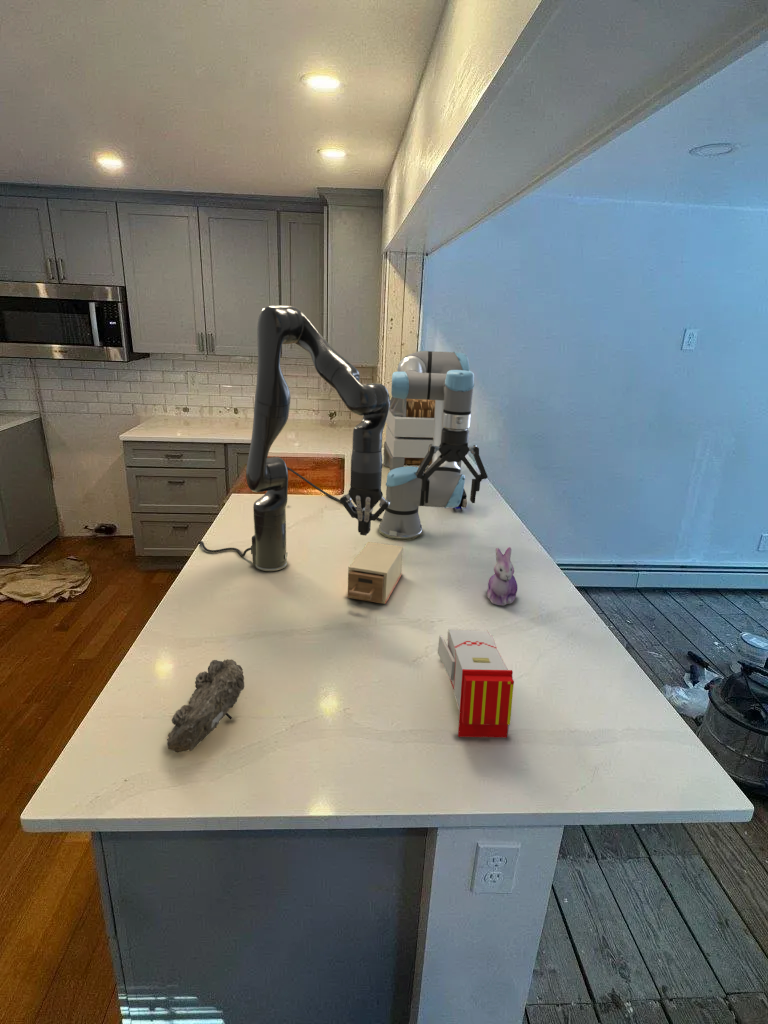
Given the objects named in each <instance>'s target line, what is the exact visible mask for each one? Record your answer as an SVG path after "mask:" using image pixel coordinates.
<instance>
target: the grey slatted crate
mask: <svg viewBox="0 0 768 1024" xmlns="http://www.w3.org/2000/svg"><path fill="white" fill-rule="evenodd" d="M434 415H435V400H426V399H401V398H394V397H392V396H391V398H390V406H389V411H388V415H387V419H386V423H385V424H386V425H385V426H386V428H385V438H384V442H383V462H382V465H383V466H384V467H388V468H389V472H390V471H391V470H393V469H395V468H399V467H405V466H413V467H419V466H420V465H421V463H422V461H423V460H424V458H425V456H426V454H427V453H428V449H429V445H430V444H432V445H433V434H434ZM462 462H463V461H462V460H461V461H460V462H457V465H458V466H459V468H460V469H461V470H462ZM431 464H432V459H431V461H430V462H429V464H428V467H429V466H430V465H431Z"/></svg>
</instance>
